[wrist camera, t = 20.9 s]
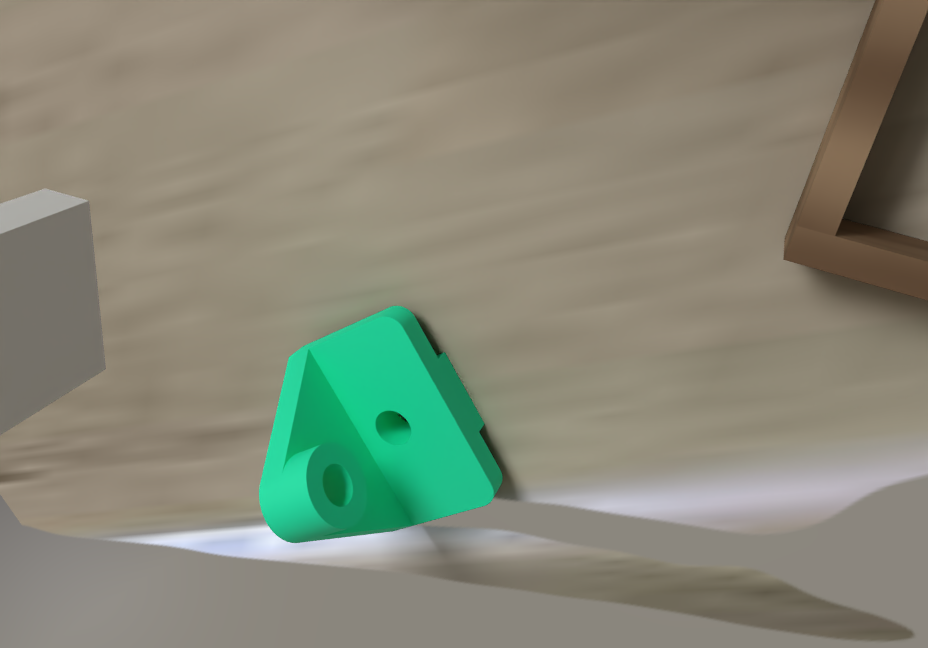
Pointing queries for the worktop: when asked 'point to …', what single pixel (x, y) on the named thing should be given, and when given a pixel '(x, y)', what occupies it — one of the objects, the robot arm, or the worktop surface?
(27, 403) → the robot arm
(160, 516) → the worktop surface
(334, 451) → the camera mount
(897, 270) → the frame
